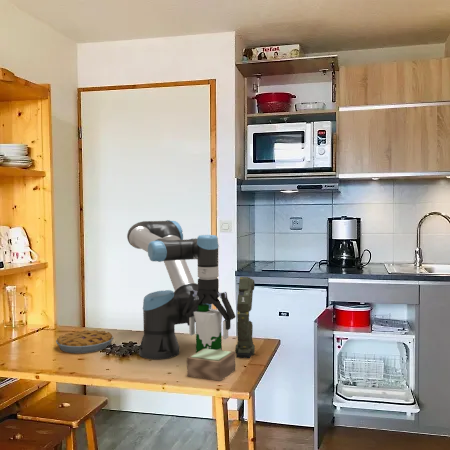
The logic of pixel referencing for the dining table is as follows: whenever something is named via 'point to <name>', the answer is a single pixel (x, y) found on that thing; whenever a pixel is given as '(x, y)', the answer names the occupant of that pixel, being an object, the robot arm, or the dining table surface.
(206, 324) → the soya milk
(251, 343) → the mechanical leg
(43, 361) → the dining table surface
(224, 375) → the step block
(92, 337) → the pie
